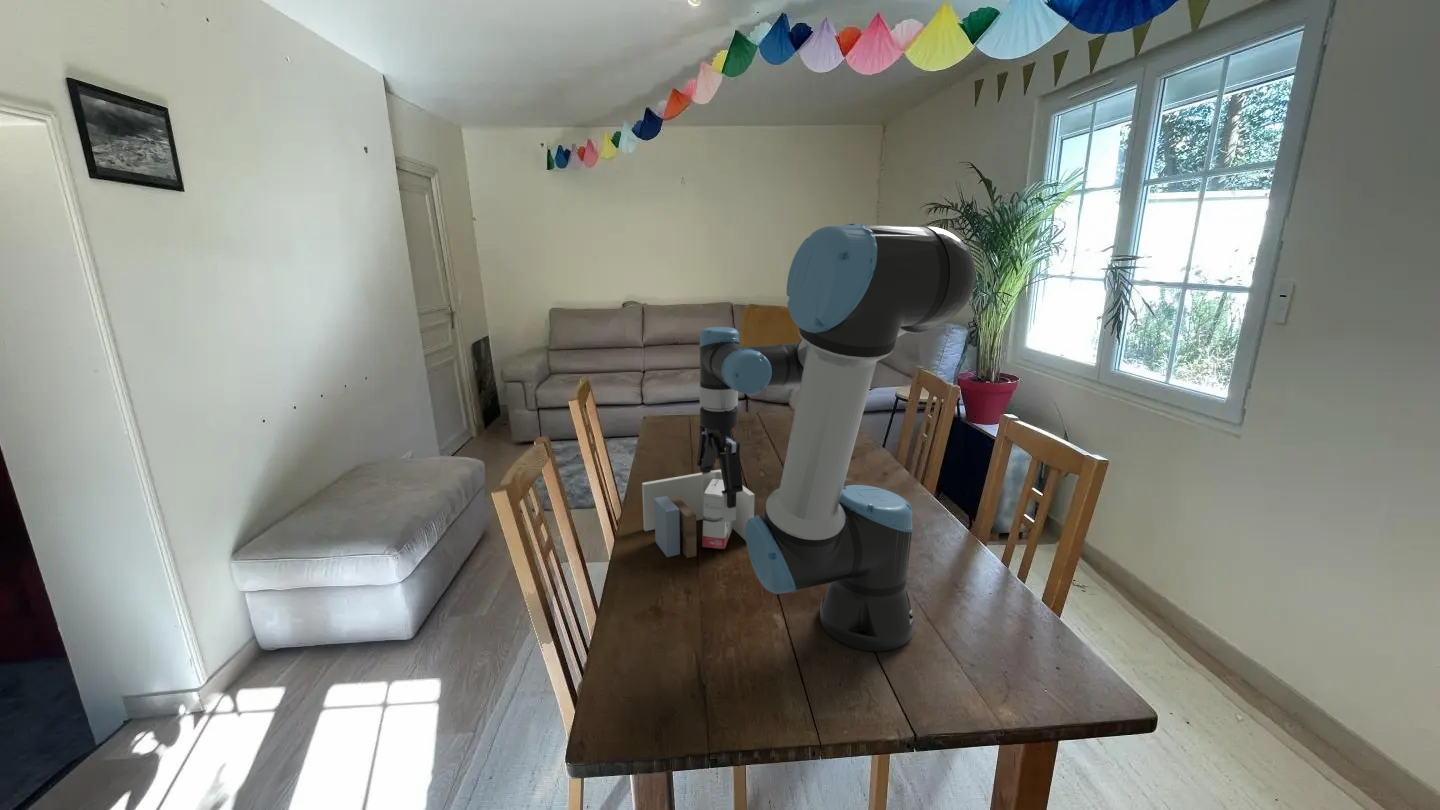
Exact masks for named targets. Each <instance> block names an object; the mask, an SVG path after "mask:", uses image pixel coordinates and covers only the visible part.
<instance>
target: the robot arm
mask: <svg viewBox="0 0 1440 810" xmlns="http://www.w3.org/2000/svg"><path fill="white" fill-rule="evenodd" d="M786 281H787V283H786V296H787V297H788V300H787V304H786V305H787V308H788V312H789V315H790V317H791V320H792V322H793V323H795V325H796V326H797V327H798V336H799V338H800V339H801V340H799V341H798V342H793V343H783V344H780V343H779V344H770V345H769V344H768V345H767V344H766V345H765V344H764V345H750V346H743V345H740V344H741V339H740V332H739V330H738V329H736V328H734V327H727V326H711V327H705V328H704V329H702V330H701V332H700V336H699V345H698V349H699V405H700V406H701V407H700V409H699V422H700V423H699V424H700V425H699V439H698V441H699V442H698V443H699V444H698V448H697V449H698V450H697V459H696V465H697V467H699V470H700V473H702V502H703V503H704V492H705V490H706V489H707V487H708V485H709V483H710V482H711V480H712V479H715V472H714V470H717V468H716V467H715V464H716V461H718V462H719V467H720V468H719V469H721V473H722V478H723V483H724V488H725V490H724V491H722V521H723V522H724V523H725V522H729V521H734V520H736V493H737V492H742V491H743V486H744V485H743V477H742V467H741V456H740V455H741V454H740V450H741V443H740V441H734V440H733V435H732V430H733V429H735V428H736V427H737V426H738V423H739V409H738V407H737V406H738V404H739V393H741V394H745V395H756V394H759V393H760V392H761V391H763V390H764V389H766V388H771V387H781V386H788V385H789V386H790V385H799V391H798V396H797V400H796V406H795V410H794V414H793V420H792V425H791V428H790V429H791V430H790V436H789V439H788V440H789V441H788V446H787V448H786V449H787V450H786V454H785V461H784V464H783V470H782V475H781V481H780V484H779V487H778V488H777V489H775V490H774V491H772V492H771V494H769V496H768V497H767V500H766V503H765V508H764V513H763V515H758V514H757V515H754V517H753V518H750V519H749V520H748V521H747V523H746V529H745V537H746V541H745V542H746V543H745V544H746V549H747V553H748V556H749V557H748V558H749V560H750V563H751V566H752V568H753V571H754V573H755V575H756V577H757V579H758V580H759V581H758V582H760V583H761V585H762V587H763V588H764V589H765V590H766V591H767V592H770V593H771V594H774V595H775V594H776V595H779V594H786V593H792V594H793V593H796V592H798V591H802V590H806V589H810V588H814V587H818V586H822V585H826V584H828V587H827V591H826V593H824V595H823V597H822V599H821V602H820V608H819V609H820V610H819V612H820V613H819V619H820V623H821V626H822V628H823V629H824V630H825V632H826V633H827V634H829V636H831V637H832V638H833V639H834V640H836V641H837V642H839V643H841V644H844V645H845V646H848V647H851V648H853V649H857V650H861V651H867V652H887V651H892V650H896V649H899V648H901V647H903V646H905V645H906V644H907V643H908V642H910V641H911V638H912V636H913V632H914V624H915V617H914V613H913V610H912V605H911V600H910V597H909V593H908V590H907V579H908V571H909V570H908V568H909V558H910V549H911V543H912V533H913V532H914V527H913V509H912V506H911V503H909V502H908V501H907V500H906V499H905V498H903V496H901V495H899V494H897V493H895V492H893V491H889V490H887V489H883V488H881V487H877V486H872V485H866V484H849V485H846V486H845V481H846V478H847V474H848V470H849V466H850V463H851V460H852V459H851V458H852V455H853V452H854V448H855V443H856V442H857V441H856V440H857V436H858V433H859V429H860V425H861V421H862V419H863V414H864V411H865V407H866V404H867V400H868V395H869V393H870V388H871V385H872V381H873V377H874V373H875V371H876V370H875V369H876V366H877V362H878V361H880V360H883V359H885V358H886V357H888V356H890V355H891V354H892V353H893V352H894V349H895V346H896V343H897V339H898V337H900V336H902V335H905V334H906V333H909V334H923V333H925V332H927V331H929V330H931V329H933V328H935V327H937V326H940V325H941V324H943V323H945V322H947V321H949V320H951V319H952V318H954V317H955V316H956V315H957V314H959V312H961V311H962V310H963V309H964V308H965V306H966V304H967V303H968V302H969V301H970V299H971V296H972V293H973V291H974V288H975V284H976V267H975V261H974V259H973V257H972V254H971V252H970V250H969V248H968V247H967V245H965V243H964V242H963V241H962V240H961V239H960V238H959V237H957V236H956V235H955V234H953V233H951V232H950V231H948V230H946V229H943V228H940V227H938V226H937V227H936V226H931V225H930V226H929V225H917V226H913V225H911V226H910V225H884V224H860V223H857V222H856V223H855V222H852V223H847V224H844V225H828V226H823V227H820V228H818V229H816V230H815V231H813V232H812V233H811V234H810V235H809V236H808V237H807V238H805V239H804V240H803V242H802V243H801V244H800V245H799V247H798V248H797V250H796V251H795V255H794V257H793V258H792V261H791V263H790V267H789V271H788V275H787V280H786ZM711 471H712V472H711Z"/></svg>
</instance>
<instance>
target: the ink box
mask: <svg viewBox="0 0 1440 810" xmlns="http://www.w3.org/2000/svg"><path fill="white" fill-rule="evenodd" d="M724 490H725V488H724V483H723V480H721V479H712V480H711V482H710V483H709V485H708V487H707V489H706V490H705V492H704V503H703V519H702V541H701V542H702V544H701V546H702V548H712V549H721V550H722V549H723V550H725V548H726V546H727V544H728V541H729V538H730V535H731V534H732V530H733V528H732V521H729V522H725V523H724V522H723V521H722V491H724Z"/></svg>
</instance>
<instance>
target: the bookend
mask: <svg viewBox="0 0 1440 810" xmlns="http://www.w3.org/2000/svg"><path fill="white" fill-rule="evenodd" d="M669 499H670V500H671V501H672V502H673V503H674V504H675V505H676V506H677V507H678V508H679V521H680V552H682V553H683V555H685V557H686V559H690V558H694V557H697V521H696V515H695V513H694V512H693V511H692V510H691V509H690V508H689V507H688V506H687V505H686V504H685V503H684V502H683V501H682V500H681V499H680V498H679V497H678V496H677V497H672V498H669Z"/></svg>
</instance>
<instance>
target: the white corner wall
mask: <svg viewBox="0 0 1440 810" xmlns="http://www.w3.org/2000/svg"><path fill="white" fill-rule="evenodd" d="M712 471H714V472H715V479H721V480H723V478H722V473H721V468H719V469H716V470H711V472H712ZM641 485H642V486H641V489H642V490H641V492H642V517H643V519H642V521H643V522H642V523H643V530H644V532H649V531H653V530H655V531H654V534H655V535H654V536H655V537H654V539H655V543H656V545H657V546H658V547H659V549H660V550H661V551H662V552H663V554H664V556H666V558H670V557H674V556H678V555H681V550H680V521H679V508H678V507H677V506H676V505H675V504H674V503H673V502H672V501H671V500H670V499H669V498H672V497H677V496H678V497H679V498H680V499H681V500H682V501H683V502H684V503H685V504H686V505H687V506H688V507H689V508H690V509H691V510H692V511H693V512H694V513H695V515H696V522H697V521H701V520H703V502H702V472H697V473H692V474H686V475H679V476H676V477H675V476H674V477H668V478H663V479H657V480H650V481H645V482H642V483H641ZM755 495H756V494H755V493H753V492H752V491H751V490H750V489H748V488H747V487H746V486H745V485H743V491H742V492H737V493H736V520H734V521H732V530H733V531H735V532H736V533H737V534H738V535H739V536H740V537H741V538H742V539H743V540H744V541H745V542H746V537H745V529H746V523H747V521H748V520H749V519H750V518H753V517H754V516H755V499H756V498H755Z"/></svg>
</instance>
